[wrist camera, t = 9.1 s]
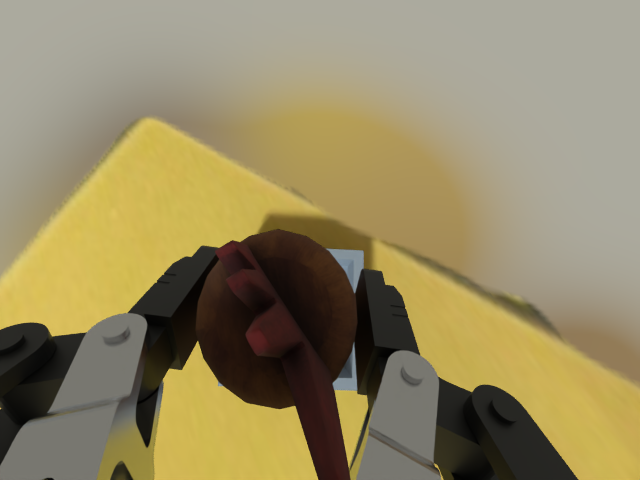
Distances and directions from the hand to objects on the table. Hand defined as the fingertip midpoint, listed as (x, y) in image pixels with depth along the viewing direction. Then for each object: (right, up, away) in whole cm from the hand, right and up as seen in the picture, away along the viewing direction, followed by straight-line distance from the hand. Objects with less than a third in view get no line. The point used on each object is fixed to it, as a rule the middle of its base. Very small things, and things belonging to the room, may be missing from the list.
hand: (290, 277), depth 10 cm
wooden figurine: (-1, -3, +7) cm, 8 cm away
